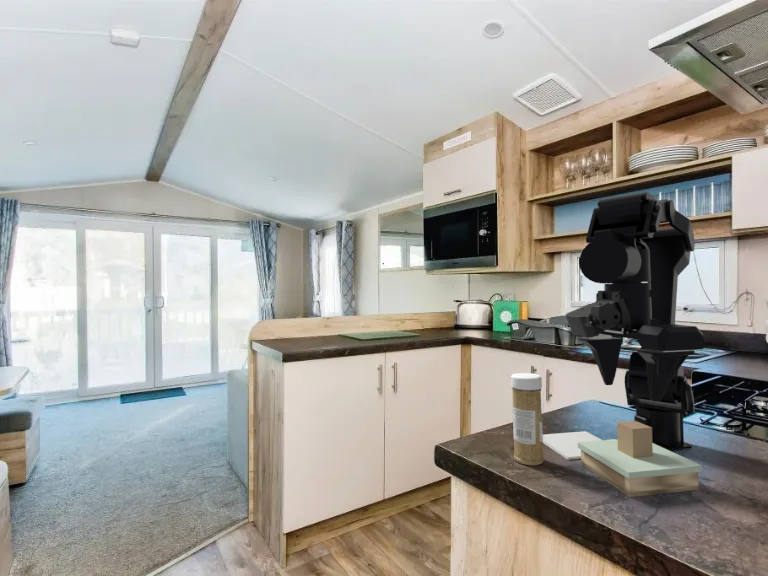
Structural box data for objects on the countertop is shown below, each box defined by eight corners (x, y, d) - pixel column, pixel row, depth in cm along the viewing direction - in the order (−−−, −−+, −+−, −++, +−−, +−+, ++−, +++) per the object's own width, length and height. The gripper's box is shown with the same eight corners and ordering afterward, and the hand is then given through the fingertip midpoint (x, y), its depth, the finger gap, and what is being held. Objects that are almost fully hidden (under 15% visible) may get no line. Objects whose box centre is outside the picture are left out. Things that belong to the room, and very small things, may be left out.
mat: (585, 433, 75) (585, 431, 75) (625, 454, 65) (625, 452, 65) (535, 437, 74) (535, 435, 74) (567, 459, 64) (567, 457, 64)
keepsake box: (640, 459, 63) (639, 443, 63) (698, 489, 53) (697, 470, 53) (581, 464, 62) (580, 448, 62) (629, 497, 52) (629, 477, 52)
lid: (640, 442, 64) (639, 411, 64) (701, 471, 53) (700, 434, 53) (577, 447, 62) (576, 416, 62) (628, 478, 52) (627, 441, 52)
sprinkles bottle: (550, 461, 63) (547, 375, 63) (531, 469, 61) (529, 379, 61) (525, 452, 67) (523, 370, 67) (507, 459, 65) (504, 374, 65)
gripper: (540, 285, 66) (543, 381, 66) (621, 283, 48) (625, 415, 48) (603, 283, 68) (606, 377, 68) (705, 280, 49) (709, 409, 49)
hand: (630, 392), depth 58 cm, fingers open, 9 cm apart
